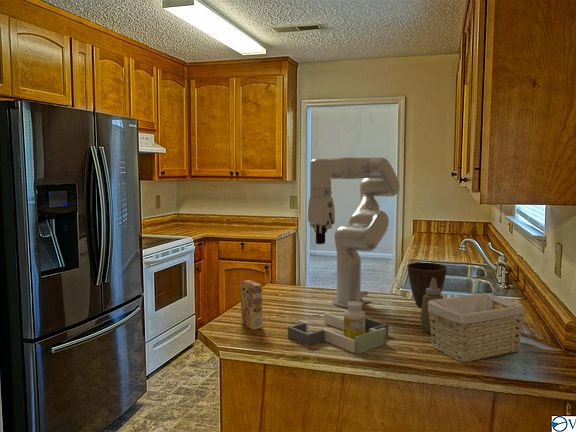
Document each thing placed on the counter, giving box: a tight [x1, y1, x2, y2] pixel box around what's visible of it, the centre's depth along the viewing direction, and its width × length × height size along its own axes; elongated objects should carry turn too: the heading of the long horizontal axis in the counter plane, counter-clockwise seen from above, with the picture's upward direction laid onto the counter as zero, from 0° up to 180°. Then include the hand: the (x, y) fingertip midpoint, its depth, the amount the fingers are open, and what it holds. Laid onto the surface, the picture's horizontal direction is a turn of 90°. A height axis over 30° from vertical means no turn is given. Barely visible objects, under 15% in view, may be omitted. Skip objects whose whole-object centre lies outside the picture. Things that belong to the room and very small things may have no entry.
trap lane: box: [287, 312, 389, 355], centre depth 159 cm, size 27×27×5 cm
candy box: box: [239, 279, 264, 330], centre depth 170 cm, size 9×4×15 cm, turn 33°
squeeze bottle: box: [419, 278, 445, 334], centre depth 164 cm, size 8×8×18 cm
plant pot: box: [407, 262, 448, 309], centre depth 193 cm, size 15×15×16 cm
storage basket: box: [428, 292, 525, 363], centre depth 147 cm, size 24×16×15 cm
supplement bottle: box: [343, 301, 366, 340], centre depth 152 cm, size 7×7×13 cm
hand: (320, 243), depth 178 cm, fingers closed
